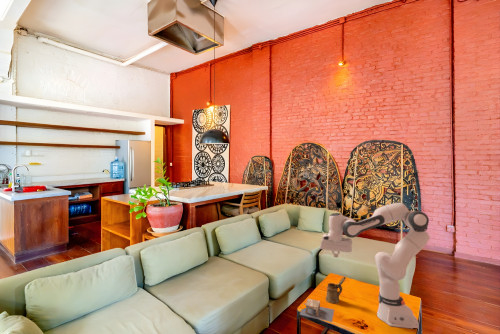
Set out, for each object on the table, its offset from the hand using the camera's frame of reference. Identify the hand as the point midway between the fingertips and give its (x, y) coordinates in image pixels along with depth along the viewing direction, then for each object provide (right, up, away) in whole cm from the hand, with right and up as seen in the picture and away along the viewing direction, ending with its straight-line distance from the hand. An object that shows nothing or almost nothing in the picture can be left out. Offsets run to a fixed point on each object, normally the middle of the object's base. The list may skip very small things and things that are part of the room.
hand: (336, 256), depth 174 cm
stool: (-14, -31, -8) cm, 35 cm away
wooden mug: (+2, -34, +6) cm, 34 cm away
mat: (-15, -34, -7) cm, 38 cm away
